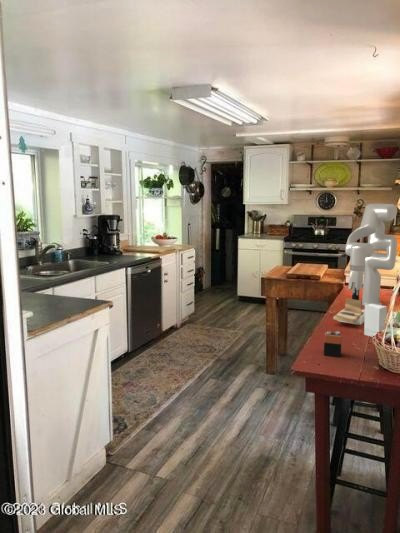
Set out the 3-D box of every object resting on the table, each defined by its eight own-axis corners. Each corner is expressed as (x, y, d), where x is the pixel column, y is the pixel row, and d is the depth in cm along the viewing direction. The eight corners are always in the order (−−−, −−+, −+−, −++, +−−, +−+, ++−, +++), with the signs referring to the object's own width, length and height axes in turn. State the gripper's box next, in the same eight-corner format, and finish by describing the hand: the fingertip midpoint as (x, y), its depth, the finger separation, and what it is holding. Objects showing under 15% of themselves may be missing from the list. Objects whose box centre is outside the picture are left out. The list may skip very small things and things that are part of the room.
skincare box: (386, 337, 202) (388, 306, 200) (378, 339, 199) (380, 308, 197) (370, 332, 209) (372, 302, 207) (362, 334, 206) (364, 304, 203)
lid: (344, 311, 232) (345, 298, 231) (363, 314, 226) (364, 300, 225) (333, 319, 219) (334, 304, 217) (353, 322, 213) (354, 307, 212)
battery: (340, 357, 178) (341, 334, 176) (323, 355, 180) (324, 332, 178) (340, 353, 182) (342, 331, 180) (324, 351, 184) (325, 329, 182)
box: (348, 313, 242) (348, 305, 241) (370, 316, 235) (370, 309, 234) (337, 321, 227) (337, 313, 226) (360, 325, 220) (361, 316, 220)
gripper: (354, 265, 234) (352, 298, 238) (345, 269, 223) (343, 304, 226) (368, 266, 230) (366, 300, 233) (360, 271, 218) (358, 306, 221)
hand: (355, 302), depth 230 cm, fingers closed
